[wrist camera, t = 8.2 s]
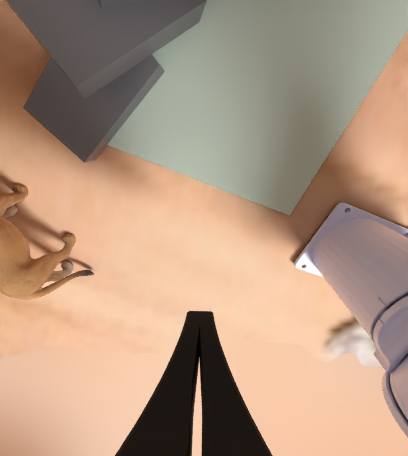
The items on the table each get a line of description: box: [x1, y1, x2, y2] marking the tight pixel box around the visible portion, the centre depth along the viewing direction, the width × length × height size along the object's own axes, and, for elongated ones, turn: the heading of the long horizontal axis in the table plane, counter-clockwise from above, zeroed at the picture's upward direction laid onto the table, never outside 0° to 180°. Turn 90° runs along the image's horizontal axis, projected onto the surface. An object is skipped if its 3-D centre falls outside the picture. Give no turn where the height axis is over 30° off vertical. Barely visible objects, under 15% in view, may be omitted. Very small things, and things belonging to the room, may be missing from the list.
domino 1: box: [6, 0, 207, 99], centre depth 10 cm, size 2×5×9 cm
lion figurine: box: [0, 184, 94, 300], centre depth 16 cm, size 15×5×9 cm, turn 36°
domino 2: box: [23, 54, 165, 162], centre depth 14 cm, size 2×5×9 cm
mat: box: [107, 0, 408, 216], centre depth 12 cm, size 18×23×1 cm
